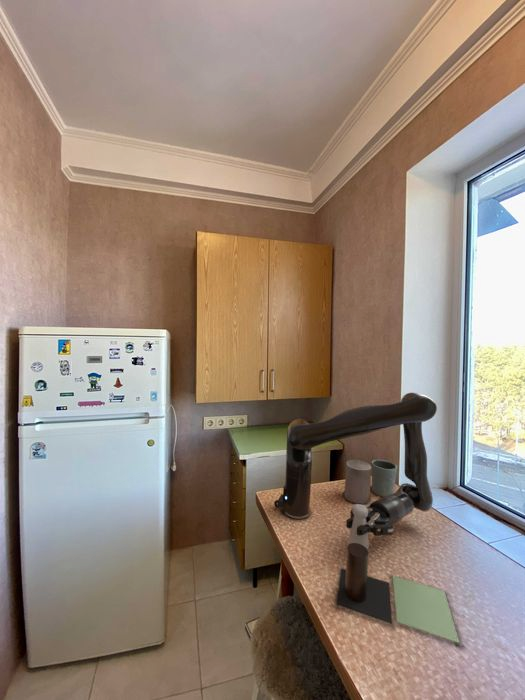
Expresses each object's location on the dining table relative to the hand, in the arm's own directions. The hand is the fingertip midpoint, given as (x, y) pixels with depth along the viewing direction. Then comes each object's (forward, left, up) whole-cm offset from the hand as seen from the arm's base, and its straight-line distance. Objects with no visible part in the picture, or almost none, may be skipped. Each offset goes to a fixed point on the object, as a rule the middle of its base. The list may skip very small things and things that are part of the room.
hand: (352, 528), depth 84 cm
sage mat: (+17, -9, -10) cm, 21 cm away
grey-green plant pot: (+10, +47, -10) cm, 49 cm away
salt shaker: (+2, +2, -8) cm, 8 cm away
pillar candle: (0, +37, -10) cm, 39 cm away
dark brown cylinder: (+2, -12, -9) cm, 15 cm away
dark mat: (+4, -11, -10) cm, 15 cm away
